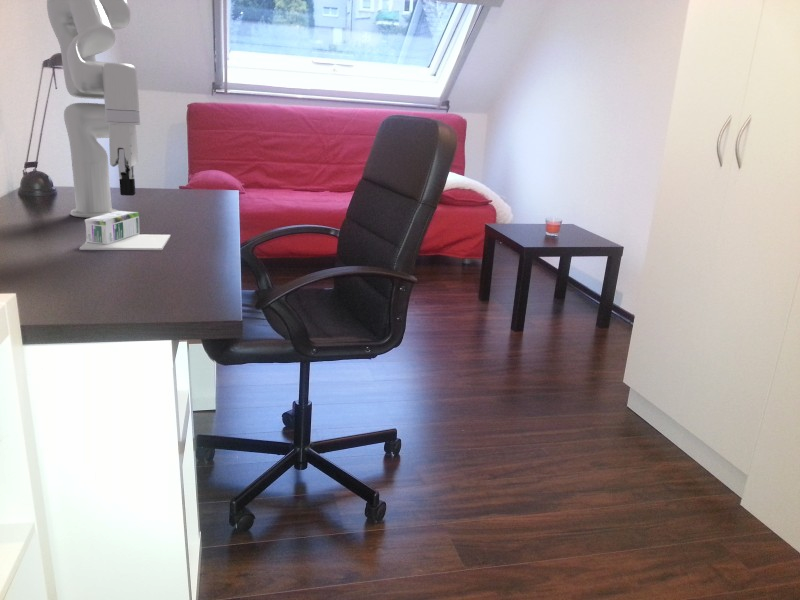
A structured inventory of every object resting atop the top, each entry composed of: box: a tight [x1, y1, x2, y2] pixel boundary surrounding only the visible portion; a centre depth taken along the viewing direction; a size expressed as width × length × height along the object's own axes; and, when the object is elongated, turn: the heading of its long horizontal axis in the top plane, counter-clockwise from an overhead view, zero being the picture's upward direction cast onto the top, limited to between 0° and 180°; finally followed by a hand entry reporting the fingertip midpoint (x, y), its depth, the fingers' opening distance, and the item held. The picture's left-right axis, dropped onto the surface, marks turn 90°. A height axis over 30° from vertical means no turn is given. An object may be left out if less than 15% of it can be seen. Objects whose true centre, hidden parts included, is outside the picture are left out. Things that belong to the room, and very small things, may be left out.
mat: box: [78, 233, 171, 251], centre depth 158 cm, size 16×18×1 cm
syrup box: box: [84, 210, 141, 244], centre depth 159 cm, size 6×6×14 cm
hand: (128, 194), depth 159 cm, fingers closed
